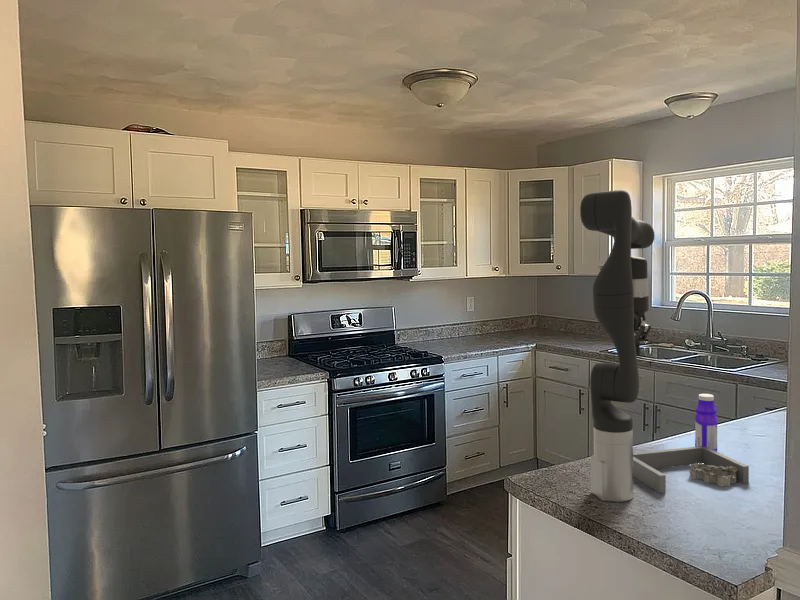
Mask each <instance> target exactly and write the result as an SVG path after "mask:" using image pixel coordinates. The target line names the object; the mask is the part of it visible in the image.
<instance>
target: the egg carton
mask: <svg viewBox="0 0 800 600" xmlns="http://www.w3.org/2000/svg"><path fill="white" fill-rule="evenodd" d="M687 466H688V467H689V477H691V476H692V477H691V479H693V478H694V479H693V480H702V479H703V481H705V483H707V482H710V483H713V482H715V483H714V484H717V483H718V484H717V486H718V485H719V486H718V487H730V486H731V483H730V482H733V483H732V484H736V483H737V480H736V473H735V472H737V470H738V467H735V466H726V467H723V466H720V467H716V466H713V465H705V464H702V463H700V462H699V464H698V463H696V464H691V465H687ZM697 478H699V479H697Z"/></svg>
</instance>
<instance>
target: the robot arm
mask: <svg viewBox="0 0 800 600" xmlns="http://www.w3.org/2000/svg"><path fill="white" fill-rule="evenodd" d="M579 207H580V208H579V209H580V210H579V214H580V221H581V223H582V225H583V227H585V229H586V230H589V231H593V232H594V231H595V232H600V233H602V234H606V235H608V236H610V237H612V238H613V241H614V242H613V244H612V248H611V251H610V253H609V255H608V257H607V259H606V260H605V263H604V264H603V265H602V267H601V269H600V270H599V271H598V274H597V275H596V278H595V280H594V281H593V285H592V301H593V302H592V304H593V311H594V316H595V317H596V319H597V321H598V323H599V324H600V326H601V327H602V329H603V330H604V331H605V333H606V335H607V336H608V337H609V339H610V340H611V342H612V343H613V346H614V348H615V350H616V353H617V358H618V362H619V363H613V362H612V363H611V362H596V363H595V364H594V365H593V367H592V369H591V372H590V379H589V380H590V382H589V385H590V387H589V388H590V397H591V398H590V399H591V416H592V420H593V454H592V455H590V493H592V494H593V495H594V496H596V497H598V499H599V500H601V501H603V502H605V501H608V502H617V503H618V502H621V503H622V502H627V501H630V500H632V499H633V498H634V476H633V453H634V440H633V439H634V438H633V436H634V433H633V432H634V431H633V429H634V426H633V425H634V424H633V418H632V416H631V415H629V414H628V413H626V412H624V411H622V410H620V409H618V408H617V407H616V406H615V405H614V404H613V403H612V402H617V403H627V404H628V403H629V404H630V403H631V404H632V403H634V402H635V401H636V400H637V399H638V396H639V391H640V375H639V366H638V356H640V354H641V348H640V347H641V345H640V344H641V343H642V342H645V341H646V339H647V336H648V334H649V333H650V331H651V328H652V326H651V325H650V324H647V322H646V315H645V313H646V312H648V311H649V309H650V308H649V306H650V305H649V304H650V303H649V302H650V301H649V299H650V298H649V297H650V296H649V293H650V292H649V280H648V260H647V259H646V258H644V257H640V256H634V255H632V250H637V249H638V250H639V249H640V250H641V249H642V250H643V249H647V248H649V247H651V245H652V244H653V243H654V241H655V231H654V228H653V227H652V225H651V224H650V223H648V222H647V221H643V220H639V219H636V218H634V216H632V213H633V212H632V211H633V209H632V200H631V197H630V194H629V192H628V191H627V190H625V189H616V190H605V191H596V192H590V193H587V194H586V195H584V196H583V198H582V200H581V203H580V206H579Z"/></svg>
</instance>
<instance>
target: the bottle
mask: <svg viewBox="0 0 800 600" xmlns="http://www.w3.org/2000/svg"><path fill="white" fill-rule="evenodd" d="M697 402H698V403H697V406H696V407H695V411H696V413H695V417H694V420H695V421H694V425H695V427H694V429H695V430H694V431H695V435H694V437H695V439H694V442H695V443H694V447H698V446H705V447H707V448H710V449H712V450H714V451H716V452H718V423H719V422H718V417H717V414H716V413H717V411H718V410H717V408H716V406H715V396H714V395H713V394H711V393H699V394H698V401H697Z"/></svg>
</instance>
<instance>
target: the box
mask: <svg viewBox="0 0 800 600" xmlns="http://www.w3.org/2000/svg"><path fill="white" fill-rule="evenodd" d="M699 462H700V463H704V465H705V464H706V465H713V466H716V467H720V466H723V467H726V466H735V467H738V470H737V472H735V473H736V482H739V483H741V484H743V485H746V484H749V480H750V478H749V477H750V475H749V474H750V473H749V470H750V469H749V465H747V464H745V463H742V461H741V462H740V461H738V460H736V459H734V458H731V457H729V456H728V455H724V454H723V453H721V452H718V451H717V452H716V451H714V450H712V449H710V448H707V447H705V446H698V447H695V446H692V447H691V446H690V447H680V448H670V449H661V450H660V449H659V450H650V451H638V452H633V478H635V479H637V480H638V481H640V482H642V483H643V484H645V485H646V484H647V486H648V487H650V489H651V488H652V489H653V490H655V492H657V491H658V492H657V493H659V494H665V492H666V491H667V489H666V487H667V486H666V483H667V482H666V478H667V477H666V474H665V473H662V471H661V472H660V471H659V470H657V469H661V468H662V469H663V468H664V467H665V468H673V467H672V466H675V467H682V466H681V465H684V466H688V465H689V464H696V463H699ZM665 468H664V469H665Z"/></svg>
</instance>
